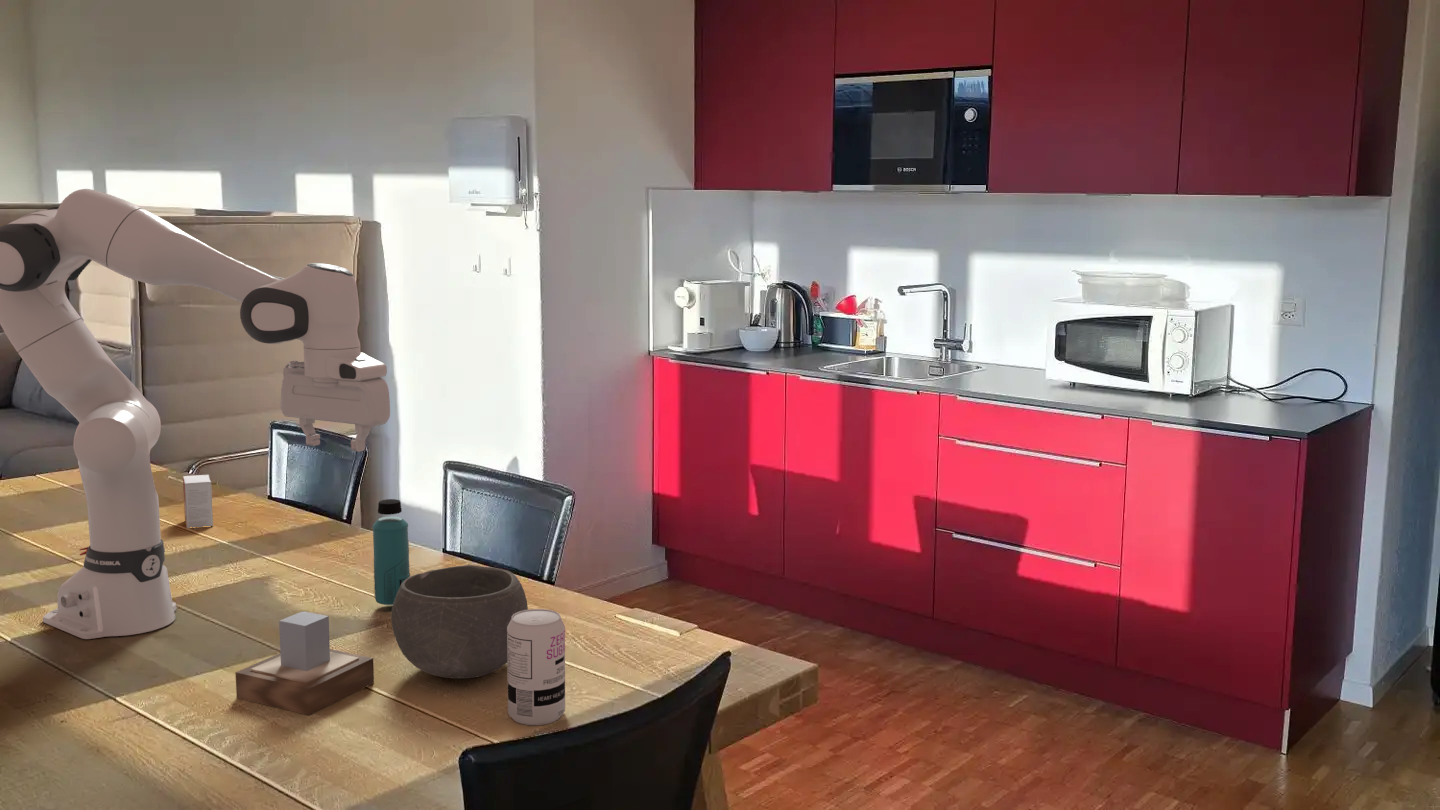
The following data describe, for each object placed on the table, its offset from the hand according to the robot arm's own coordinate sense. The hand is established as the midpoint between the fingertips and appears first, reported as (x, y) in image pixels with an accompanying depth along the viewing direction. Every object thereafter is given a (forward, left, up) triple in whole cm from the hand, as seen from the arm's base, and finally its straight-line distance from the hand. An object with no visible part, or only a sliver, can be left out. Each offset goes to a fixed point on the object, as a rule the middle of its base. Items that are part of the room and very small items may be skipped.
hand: (335, 448), depth 208 cm
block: (+10, -19, -29) cm, 36 cm away
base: (+10, -19, -33) cm, 39 cm away
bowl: (+26, -2, -33) cm, 42 cm away
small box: (-80, +44, -33) cm, 97 cm away
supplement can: (+46, -11, -33) cm, 58 cm away
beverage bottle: (-4, +18, -33) cm, 38 cm away
